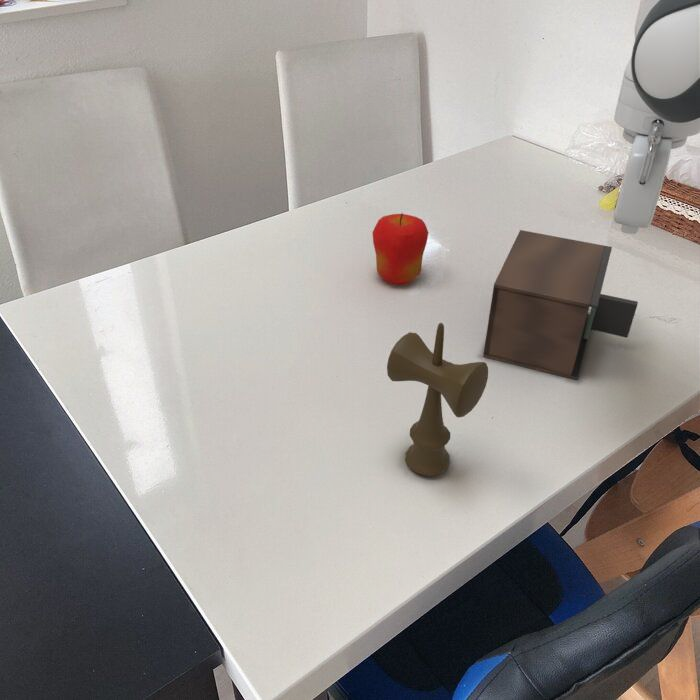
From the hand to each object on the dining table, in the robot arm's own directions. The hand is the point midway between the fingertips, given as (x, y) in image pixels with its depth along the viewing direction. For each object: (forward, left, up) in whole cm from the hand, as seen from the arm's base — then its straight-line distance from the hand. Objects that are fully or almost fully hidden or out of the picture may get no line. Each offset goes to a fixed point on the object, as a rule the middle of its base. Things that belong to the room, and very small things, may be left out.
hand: (629, 228), depth 78 cm
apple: (+32, -13, -22) cm, 41 cm away
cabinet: (+8, -6, -22) cm, 24 cm away
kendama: (+15, +24, -22) cm, 36 cm away
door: (-1, -11, -21) cm, 24 cm away
